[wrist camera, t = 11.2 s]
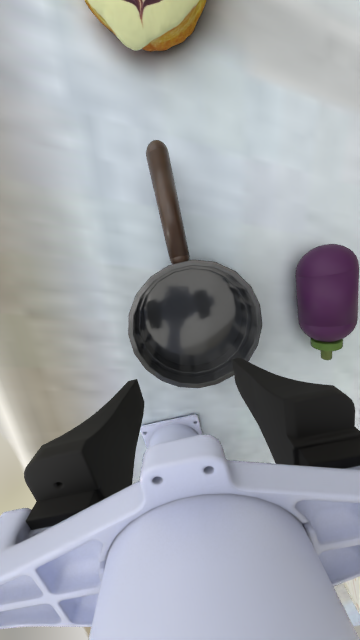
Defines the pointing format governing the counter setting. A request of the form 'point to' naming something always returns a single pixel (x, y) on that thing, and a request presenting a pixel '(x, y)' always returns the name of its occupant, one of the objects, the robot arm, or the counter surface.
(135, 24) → the decorated donut
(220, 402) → the counter surface
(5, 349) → the counter surface
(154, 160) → the pan handle
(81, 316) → the counter surface
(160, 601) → the robot arm
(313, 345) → the eggplant
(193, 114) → the counter surface
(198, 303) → the pan
